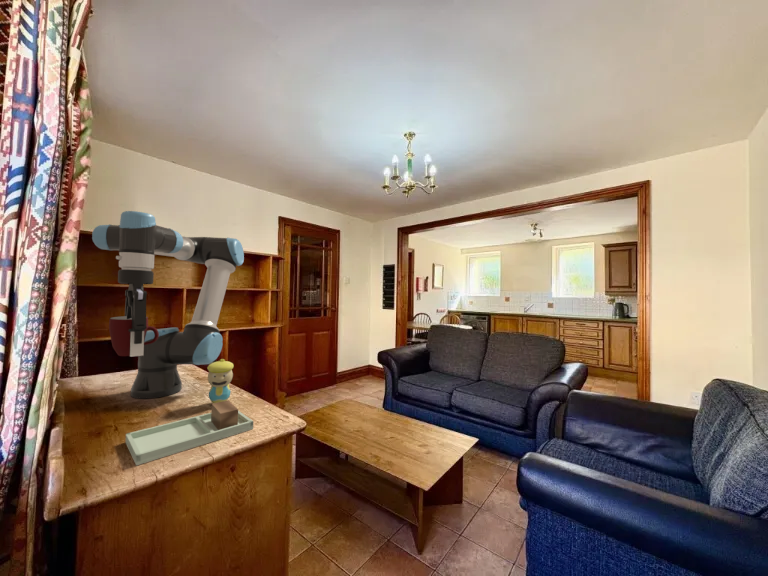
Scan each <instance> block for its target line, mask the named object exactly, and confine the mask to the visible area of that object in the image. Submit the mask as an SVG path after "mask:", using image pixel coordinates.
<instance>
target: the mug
mask: <svg viewBox="0 0 768 576" xmlns="http://www.w3.org/2000/svg"><path fill="white" fill-rule="evenodd" d="M146 326H147V328H146V329H145V330H144V341H145V336H146V333H147V331H149V330H152V331H153V332H154V334H155V336H154V339H153V340H152V341H149V342H144V345H148V344H151V343H154V342H155V341H156V340H157V339H158V337H159V332H158V330H157V329H158V328H156V327H155V326H151V325H149V317H148V316H146ZM129 329H132V318H130V319H127V316H125V315H124V316H114V317H110V318H109V321H108V331H109V336H110V342H111V345H112V349H113V350H114V351H115V353H116V354H117V356H119V357H130V339H131V332H129V331H128V330H129Z"/></svg>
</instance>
